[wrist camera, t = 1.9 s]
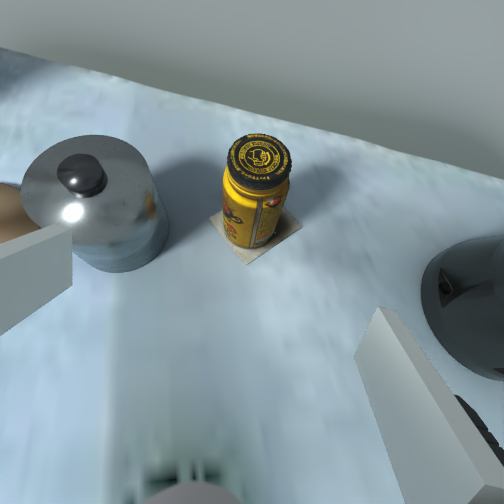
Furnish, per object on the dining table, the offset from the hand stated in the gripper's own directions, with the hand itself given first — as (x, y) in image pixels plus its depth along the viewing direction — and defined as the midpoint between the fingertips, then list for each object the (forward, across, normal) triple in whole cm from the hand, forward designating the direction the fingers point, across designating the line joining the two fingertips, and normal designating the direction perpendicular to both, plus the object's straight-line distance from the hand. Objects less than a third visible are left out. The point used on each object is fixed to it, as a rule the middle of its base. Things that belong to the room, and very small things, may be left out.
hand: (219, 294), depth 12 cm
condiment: (+22, +1, -3) cm, 23 cm away
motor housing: (+19, -14, -6) cm, 24 cm away
